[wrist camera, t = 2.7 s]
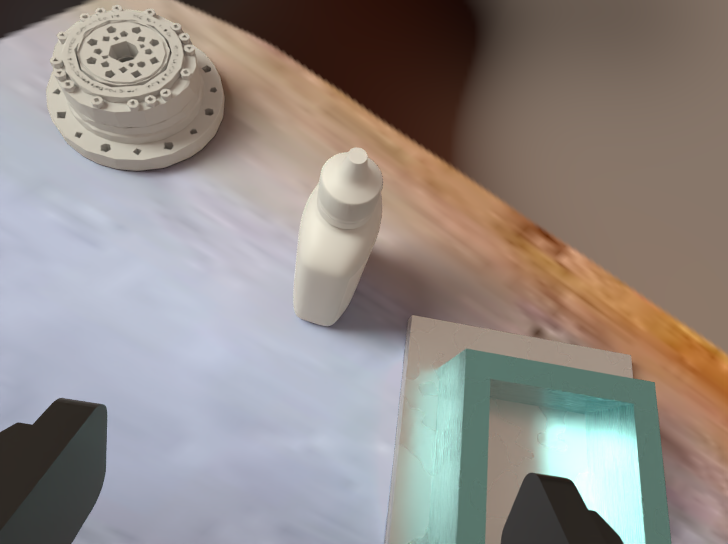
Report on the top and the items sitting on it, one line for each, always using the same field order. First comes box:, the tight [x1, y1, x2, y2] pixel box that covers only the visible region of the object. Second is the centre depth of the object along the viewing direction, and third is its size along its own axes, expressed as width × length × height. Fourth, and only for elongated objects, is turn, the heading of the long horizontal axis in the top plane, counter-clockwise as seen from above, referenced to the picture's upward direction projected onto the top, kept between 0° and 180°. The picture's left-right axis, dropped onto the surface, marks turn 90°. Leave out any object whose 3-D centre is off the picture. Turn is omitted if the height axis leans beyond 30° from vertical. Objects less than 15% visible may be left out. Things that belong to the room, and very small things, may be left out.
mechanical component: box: [46, 5, 225, 171], centre depth 29 cm, size 10×4×10 cm
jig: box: [385, 315, 671, 544], centre depth 24 cm, size 16×13×5 cm
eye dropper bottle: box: [293, 148, 383, 326], centre depth 23 cm, size 4×6×12 cm
